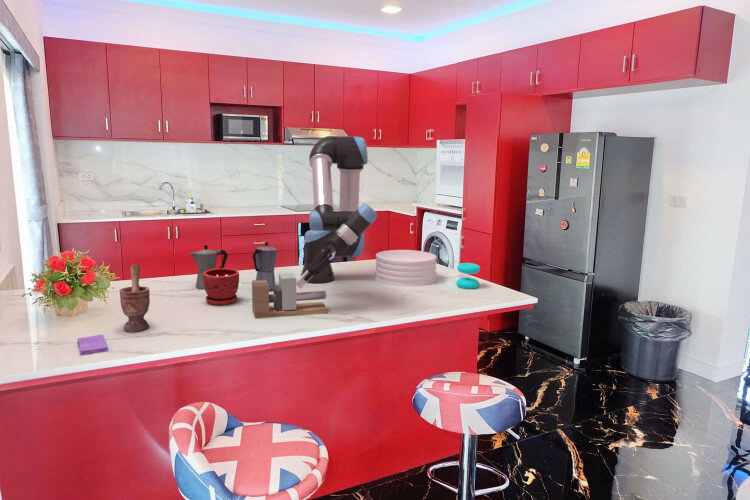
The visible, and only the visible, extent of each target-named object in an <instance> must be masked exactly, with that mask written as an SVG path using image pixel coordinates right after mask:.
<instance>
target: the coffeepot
mask: <svg viewBox="0 0 750 500" xmlns="http://www.w3.org/2000/svg"><path fill="white" fill-rule="evenodd" d="M208 247H209V245H207V244H205V245H204V246H203V248H204V249H201V250H197V251H193V252H190V253H189V256H191V258H192V259H193V260H194V261H195V263H196V264H195V265H196V268H197V269H198V272H197V276H196V277H197V278H196V282H195V288H197V289H199V290H205V288H204V281H203V273H204V272H205V271H207V270H210V269H216V267H217V261H218V256H221V255H223V257H222V261H221V265H220V266H218V267H217V268H225V266H226V263H227V259H228V257H229V254H228V252H227V251H226V250H224V249H217V250H213V249H208ZM216 276H218V275H216ZM209 284H211V283H209Z"/></svg>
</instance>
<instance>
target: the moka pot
mask: <svg viewBox="0 0 750 500" xmlns="http://www.w3.org/2000/svg"><path fill="white" fill-rule="evenodd" d="M278 249H279V248H276V247H274V246H269V242H267V241H266V242H264V245H263V246H258V247H256V248H254V252H253V253H252V258H253V265H254V269H255V272H256V278H255V280H266V281H267V283H268V284H269V292H271V291H274V286H276V279H275V278H276V277H275V267H276V262H277V257H278V255H277V254H278Z"/></svg>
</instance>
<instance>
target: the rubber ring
mask: <svg viewBox="0 0 750 500" xmlns="http://www.w3.org/2000/svg"><path fill="white" fill-rule="evenodd" d="M273 294H276V302H274V303H273V305H274V306H275V309H276V310H282V290H281V289H280V287H279V285H277V286H276V285H275V286H274V290H273Z"/></svg>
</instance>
